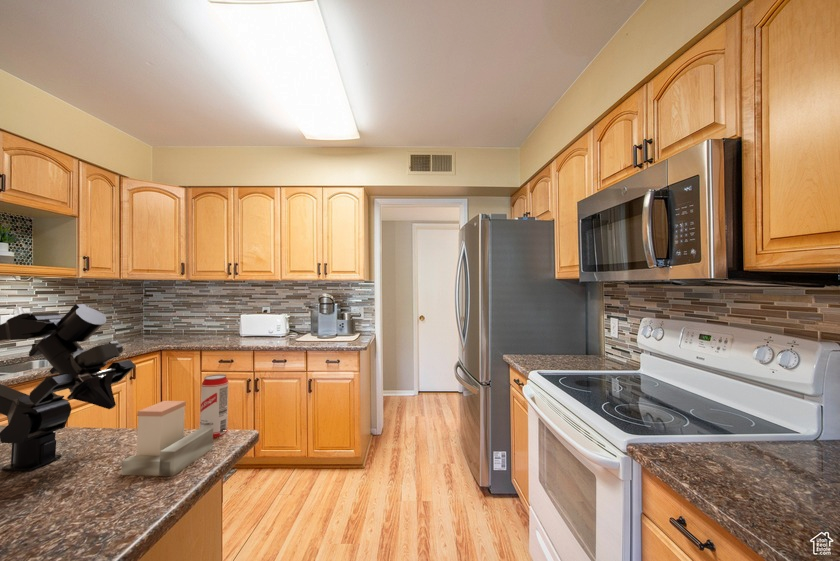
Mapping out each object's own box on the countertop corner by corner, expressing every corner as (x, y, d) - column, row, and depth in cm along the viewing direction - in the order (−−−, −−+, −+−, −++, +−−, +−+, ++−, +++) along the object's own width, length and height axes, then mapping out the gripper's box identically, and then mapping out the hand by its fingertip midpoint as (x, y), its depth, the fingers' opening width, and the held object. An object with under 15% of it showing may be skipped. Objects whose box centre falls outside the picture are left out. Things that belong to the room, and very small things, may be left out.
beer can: (214, 444, 86) (216, 380, 87) (193, 441, 87) (195, 378, 88) (232, 434, 92) (234, 374, 93) (212, 432, 94) (214, 373, 94)
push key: (134, 468, 71) (137, 411, 72) (161, 452, 79) (163, 400, 79) (159, 468, 71) (161, 411, 72) (183, 452, 79) (185, 401, 79)
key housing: (85, 488, 66) (86, 456, 66) (158, 447, 84) (159, 422, 84) (166, 490, 66) (167, 458, 66) (222, 448, 84) (223, 423, 84)
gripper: (46, 336, 67) (97, 394, 66) (129, 327, 86) (170, 372, 85) (5, 376, 67) (56, 434, 66) (97, 358, 86) (138, 403, 85)
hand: (112, 407), depth 76 cm, fingers closed
